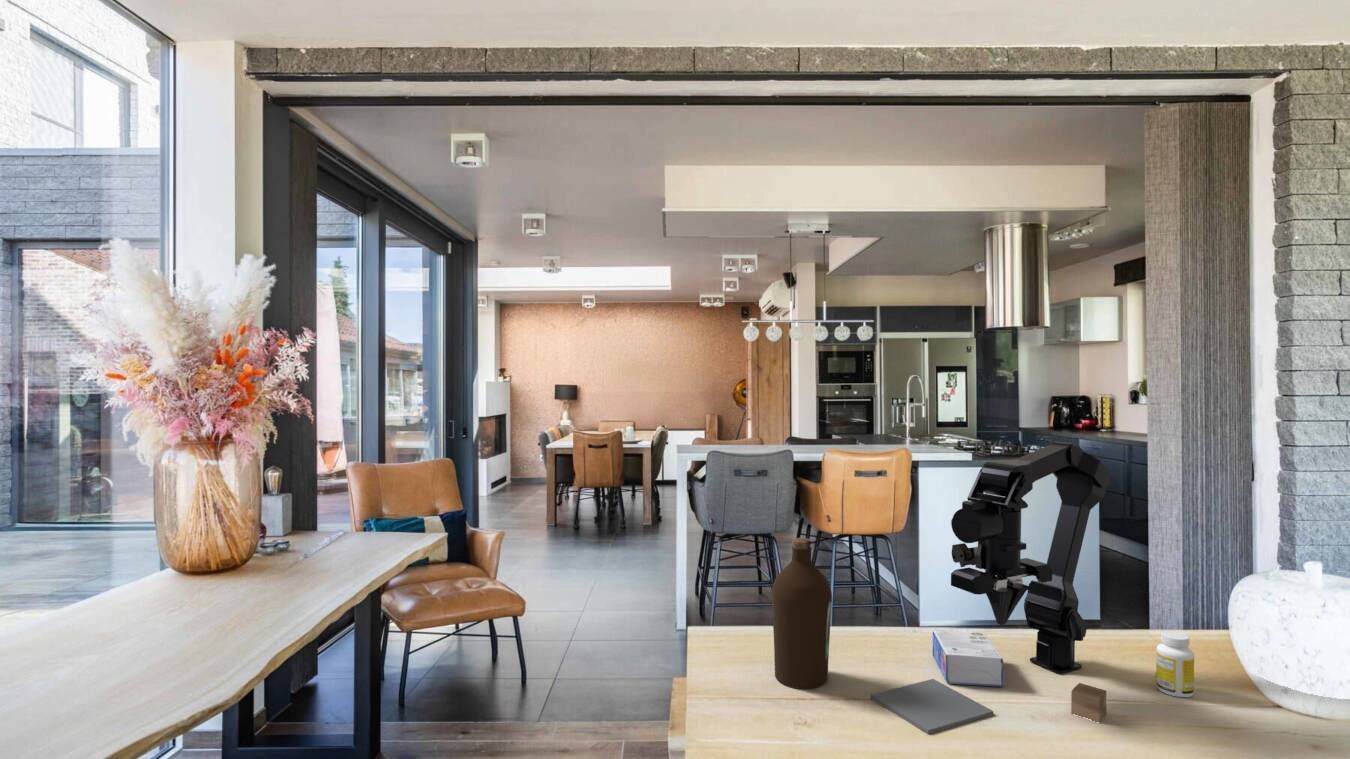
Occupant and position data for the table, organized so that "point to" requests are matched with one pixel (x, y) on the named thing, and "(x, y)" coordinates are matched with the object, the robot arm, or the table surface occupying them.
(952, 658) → the ink cartridge box
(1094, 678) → the table surface
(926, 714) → the mat
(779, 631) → the olive oil
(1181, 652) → the supplement bottle
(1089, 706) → the walnut block
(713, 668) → the table surface
